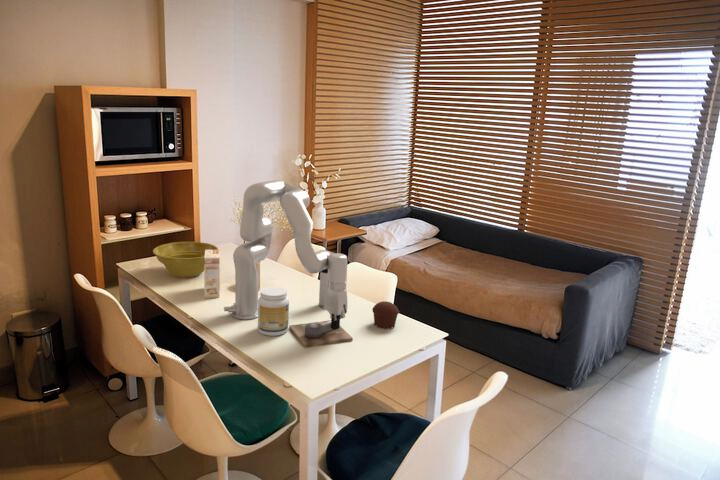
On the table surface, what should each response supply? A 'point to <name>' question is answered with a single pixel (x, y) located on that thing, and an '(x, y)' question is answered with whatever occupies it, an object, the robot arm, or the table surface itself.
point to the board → (327, 337)
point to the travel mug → (323, 286)
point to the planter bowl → (183, 257)
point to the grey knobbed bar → (317, 329)
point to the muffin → (385, 315)
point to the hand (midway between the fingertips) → (335, 328)
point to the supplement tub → (273, 311)
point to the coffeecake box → (212, 274)
